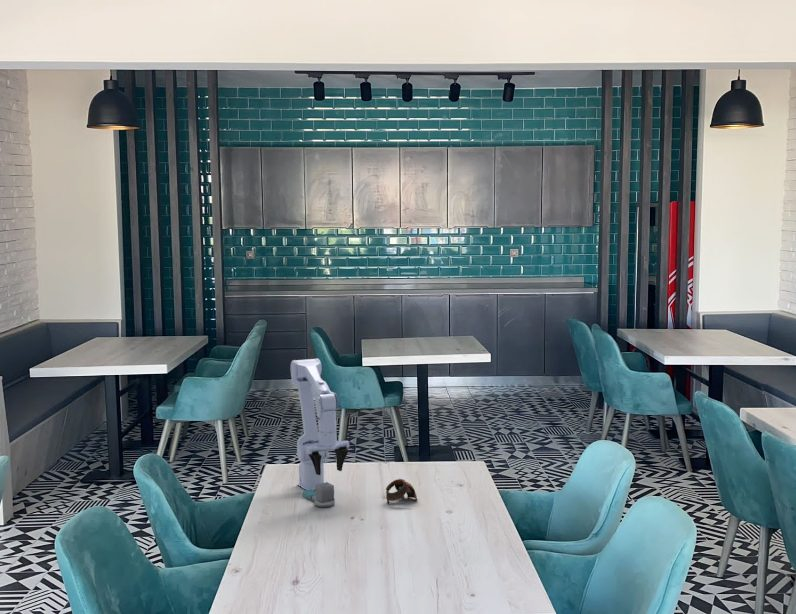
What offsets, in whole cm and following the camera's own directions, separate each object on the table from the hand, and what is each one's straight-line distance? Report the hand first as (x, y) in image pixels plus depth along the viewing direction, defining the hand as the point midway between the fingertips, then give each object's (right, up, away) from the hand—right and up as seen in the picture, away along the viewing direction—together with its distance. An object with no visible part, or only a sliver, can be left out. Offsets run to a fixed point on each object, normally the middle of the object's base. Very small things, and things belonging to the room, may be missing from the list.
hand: (328, 472), depth 270 cm
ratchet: (-4, -10, +2) cm, 11 cm away
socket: (-1, -9, -2) cm, 9 cm away
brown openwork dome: (+23, -10, 0) cm, 25 cm away
